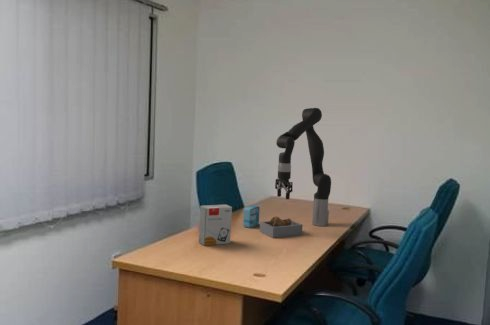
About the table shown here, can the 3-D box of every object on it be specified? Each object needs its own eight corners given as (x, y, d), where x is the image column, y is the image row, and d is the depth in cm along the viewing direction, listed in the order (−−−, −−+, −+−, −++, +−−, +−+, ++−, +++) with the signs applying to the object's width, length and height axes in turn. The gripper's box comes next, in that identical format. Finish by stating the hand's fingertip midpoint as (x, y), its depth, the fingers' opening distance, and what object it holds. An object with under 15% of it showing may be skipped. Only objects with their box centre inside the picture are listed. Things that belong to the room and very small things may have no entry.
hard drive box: (203, 246, 240) (205, 208, 238) (198, 242, 247) (199, 205, 244) (230, 243, 247) (232, 206, 245) (224, 239, 254) (226, 203, 252)
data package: (249, 228, 280) (250, 209, 279) (242, 227, 283) (243, 208, 281) (258, 224, 291) (259, 206, 289) (252, 223, 293) (253, 205, 292)
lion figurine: (283, 233, 277) (289, 219, 278) (288, 235, 272) (294, 221, 273) (264, 223, 270) (271, 209, 271) (269, 224, 265) (276, 210, 267)
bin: (288, 228, 284) (288, 219, 283) (302, 234, 271) (302, 224, 271) (259, 231, 274) (260, 221, 273) (272, 238, 261) (273, 227, 260)
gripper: (296, 171, 266) (295, 199, 268) (282, 168, 278) (281, 195, 280) (286, 172, 262) (285, 200, 264) (272, 169, 274) (271, 196, 276)
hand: (283, 197), depth 272 cm, fingers open, 8 cm apart
